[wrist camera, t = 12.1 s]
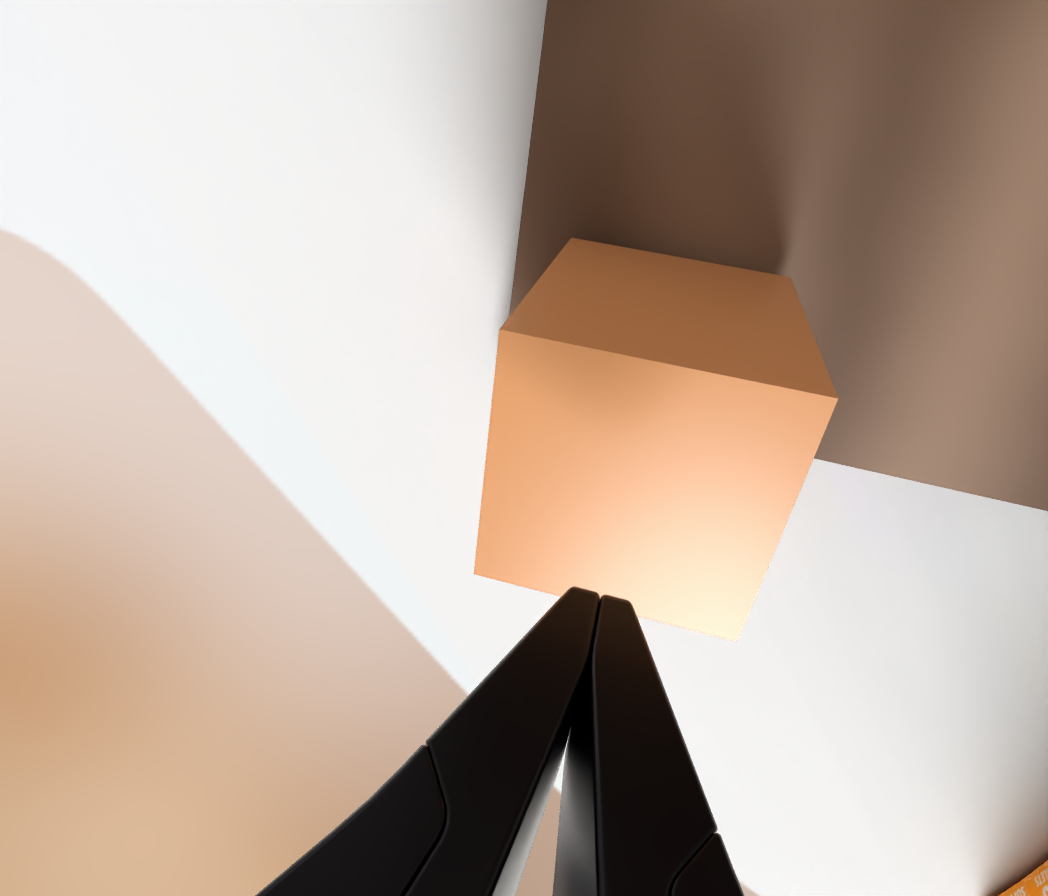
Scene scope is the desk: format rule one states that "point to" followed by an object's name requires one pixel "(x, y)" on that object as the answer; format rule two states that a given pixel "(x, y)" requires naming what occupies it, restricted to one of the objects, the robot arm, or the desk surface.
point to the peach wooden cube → (650, 433)
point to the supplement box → (1031, 884)
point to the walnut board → (830, 198)
